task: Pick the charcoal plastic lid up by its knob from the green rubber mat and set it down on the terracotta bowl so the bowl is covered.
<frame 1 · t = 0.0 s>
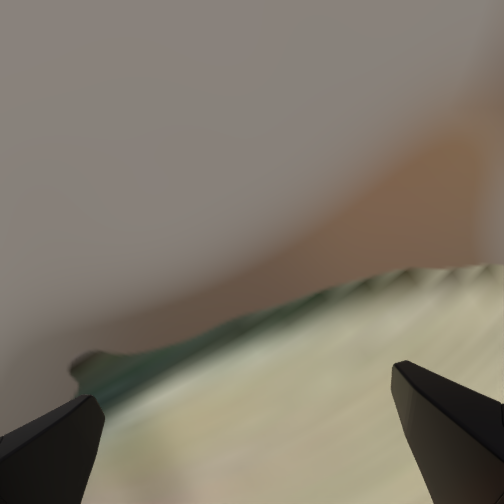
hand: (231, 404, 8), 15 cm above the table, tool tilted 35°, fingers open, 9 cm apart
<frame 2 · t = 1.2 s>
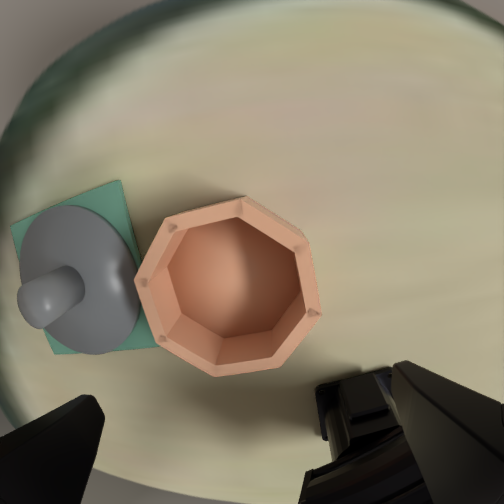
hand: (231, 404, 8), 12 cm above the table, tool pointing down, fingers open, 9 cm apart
bowl: (233, 276, 20), on the table
lid: (75, 282, 20), resting on mat
mat: (78, 280, 21), on the table
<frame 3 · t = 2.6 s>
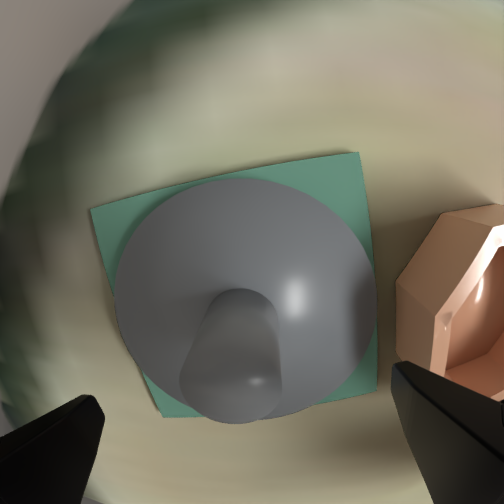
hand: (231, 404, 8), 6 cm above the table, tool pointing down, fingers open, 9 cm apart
bowl: (470, 296, 13), on the table
lid: (243, 314, 13), resting on mat
mat: (243, 309, 14), on the table
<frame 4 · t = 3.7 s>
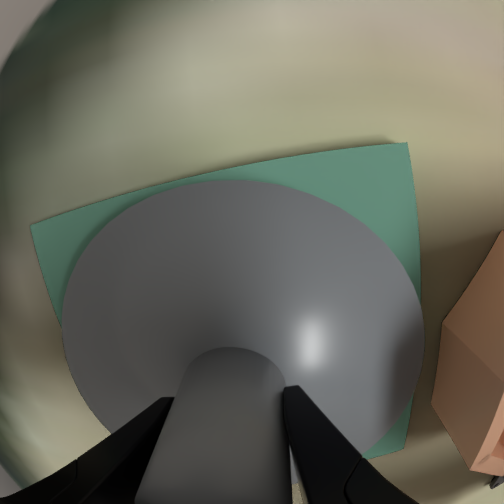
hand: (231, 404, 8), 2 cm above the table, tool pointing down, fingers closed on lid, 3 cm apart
lid: (236, 374, 9), point 1 cm above the table, touching gripper, mat
mat: (237, 365, 10), on the table
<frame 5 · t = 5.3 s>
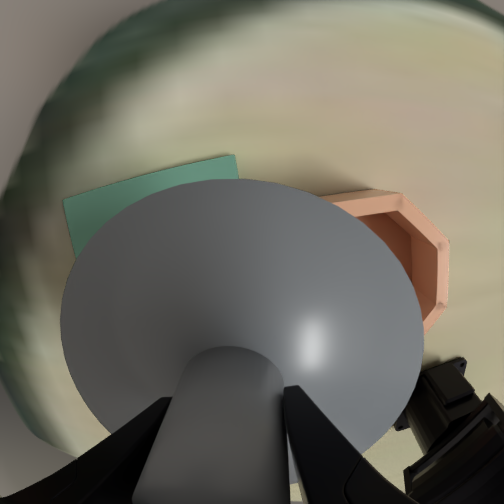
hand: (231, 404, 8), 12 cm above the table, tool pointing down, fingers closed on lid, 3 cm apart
bowl: (352, 269, 19), on the table
lid: (235, 373, 9), point 10 cm above the table, touching gripper
mat: (160, 269, 19), on the table
when the fingers open (6 cm above the table, at t = 6.9 s): lid drops 1 cm, resting on bowl.
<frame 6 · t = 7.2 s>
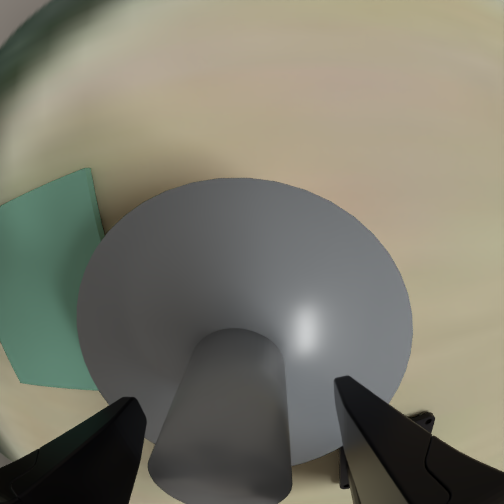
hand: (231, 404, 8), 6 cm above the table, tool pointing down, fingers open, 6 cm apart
lid: (239, 355, 10), point 4 cm above the table, touching bowl
mat: (40, 299, 15), on the table
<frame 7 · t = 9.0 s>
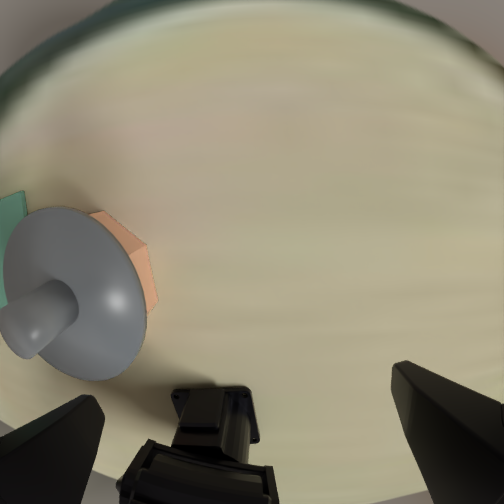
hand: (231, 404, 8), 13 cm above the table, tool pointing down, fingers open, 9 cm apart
bowl: (96, 279, 21), on the table
lid: (67, 298, 17), point 4 cm above the table, touching bowl
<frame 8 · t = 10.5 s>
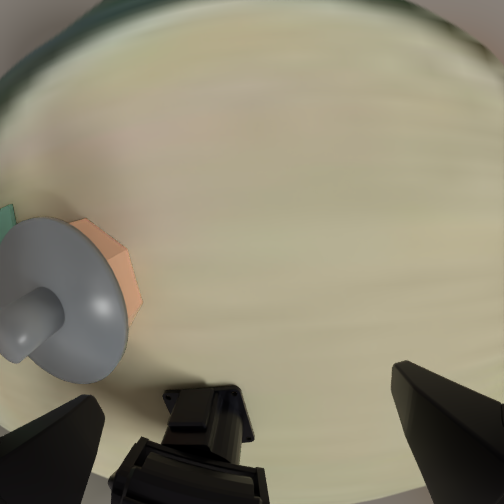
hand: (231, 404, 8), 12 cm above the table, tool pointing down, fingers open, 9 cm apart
bowl: (83, 285, 21), on the table
lid: (54, 304, 17), point 4 cm above the table, touching bowl
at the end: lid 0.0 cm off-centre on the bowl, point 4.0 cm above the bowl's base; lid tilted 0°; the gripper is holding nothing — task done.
